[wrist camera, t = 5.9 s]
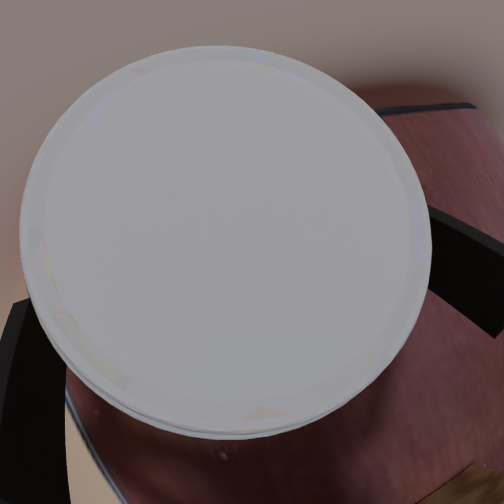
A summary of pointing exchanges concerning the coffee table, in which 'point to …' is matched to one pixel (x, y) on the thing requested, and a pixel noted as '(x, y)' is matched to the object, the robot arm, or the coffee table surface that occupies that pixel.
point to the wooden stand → (471, 488)
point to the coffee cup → (224, 242)
